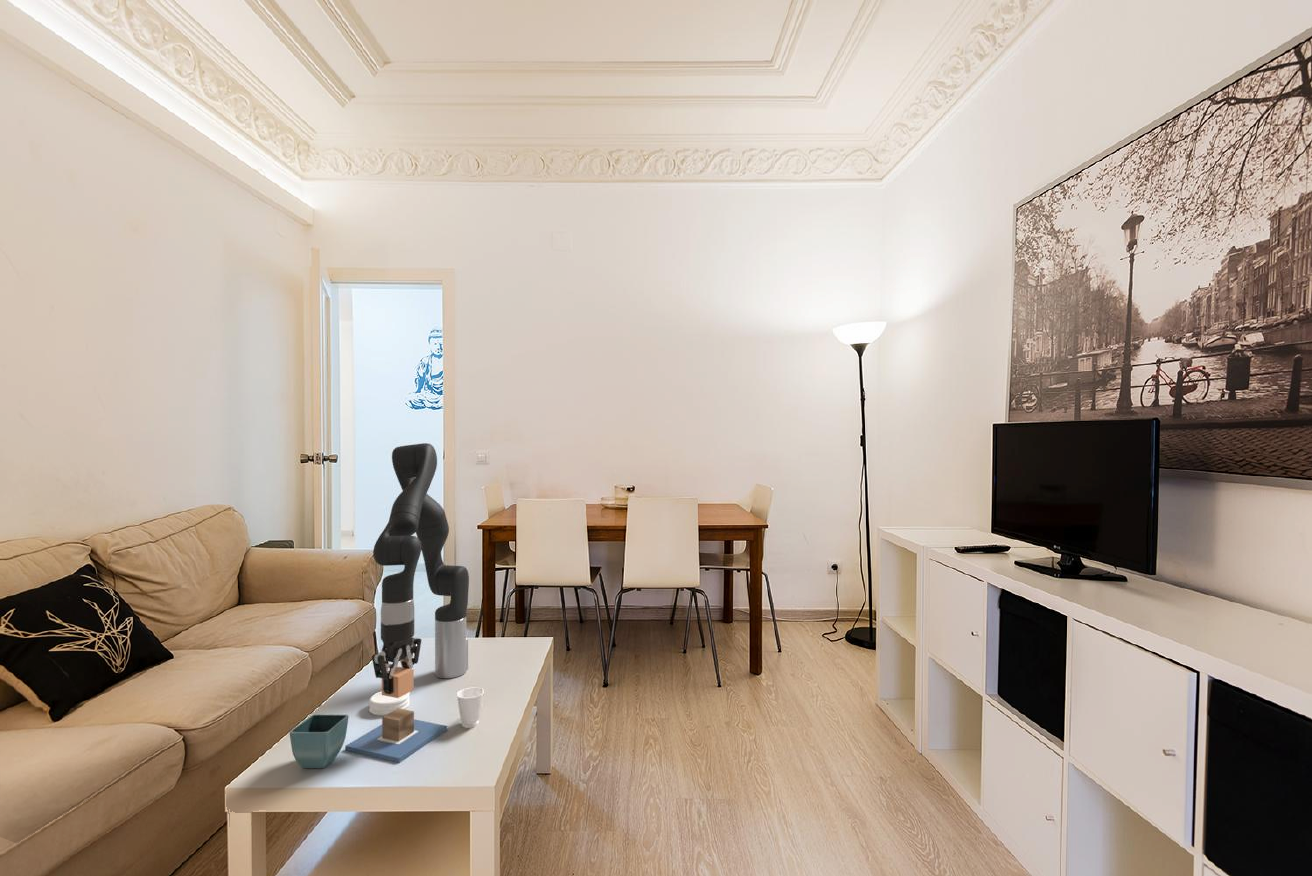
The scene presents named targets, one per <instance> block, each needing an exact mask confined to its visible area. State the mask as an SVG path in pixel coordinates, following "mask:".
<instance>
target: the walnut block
mask: <svg viewBox="0 0 1312 876" xmlns="http://www.w3.org/2000/svg"><path fill="white" fill-rule="evenodd" d="M381 719H382V720H381V725H382V738H384V739H389V740H394V741H398V742H399V741H401V740H402V739H404V738H405V737H407V736H408V735H410V734H411V733H413V732H414V719H415V711H414V710H410V709H409V710H408V709H405V710H404V709H399V708H397V709H396V710H394V711H392V712H390V713H389V714H387V715H385V716H381Z"/></svg>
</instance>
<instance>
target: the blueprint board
mask: <svg viewBox="0 0 1312 876" xmlns="http://www.w3.org/2000/svg"><path fill="white" fill-rule="evenodd" d="M447 730H448V725H444V724H439V723H434V722H430V721H424V720H419V719H415V718H414V732H413V733H411V734H410V735H408V736H407V737H405V738H404V739H402V740H401V741H399V742H398V741H394V740H389V739H384V738H382V724H379V726H376V727H375V728H373V729H372V730H370V731H368V732H366V733H365V734H363V735H362V736H360V737H359V736H358V738H356V739H354V740H352V741H351V742H349V743H347V744H346V745H345V747H344V748H345V751H346V752H347V751H348V752H352V753H355V754H361V755H365V756H369V757H373V758H377V759H382V760H386V761H391V762H394V763H399V764H400V763H401V762H403V761H405V760H406V759H407V758H409V757H410V756H412V755H413V754H415V753H416V752H417V751H419V750H421V749H422V748H424V746H426V745H427V744H429V743H430V742H432V741H433V740H435V739H436V738H437V737H439V736H440V735H442V734H443V733H445V732H446V731H447Z"/></svg>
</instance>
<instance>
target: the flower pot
mask: <svg viewBox="0 0 1312 876" xmlns="http://www.w3.org/2000/svg"><path fill="white" fill-rule="evenodd" d="M349 717H350V716H349V714H333V713H332V714H320V713H319V714H311V715H310V716H308V717H307V718H305V719H304V720H303V721H302V722H301V723H299V724H297V725H296V726H295V727H293V728H292V729H290V731H288V733H289V740H290V745H291V746H290V747H291V752H292V755H293V757H294V760H295V761H296V762H297V764H298V765H300V767H301V768H303V769H324V768H326V767H328V765H329V764H330V763H332V762H333V761H334V760H335V759H336V758H337V757H338V755H339V753H340V751H341V750H342V749H343V748H342V747H343V746H344V743H345V740H346V737H347V731H348V723H349Z"/></svg>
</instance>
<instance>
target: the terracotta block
mask: <svg viewBox="0 0 1312 876" xmlns="http://www.w3.org/2000/svg"><path fill="white" fill-rule="evenodd" d="M387 673H389V670H388V672H387ZM414 674H415V672H414V669H413V668H412V669H408V668H402V666H397V668H395V671H394V675H393V693H392V694H386V693H385V692H384V691H383V679H382V678H381V691H382V695H384V696H389V697H395V698H399V697H401V696H403V695H405V694H407V693H410V692H412V691H414V690H415V688H414V679H415V678H414Z"/></svg>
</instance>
